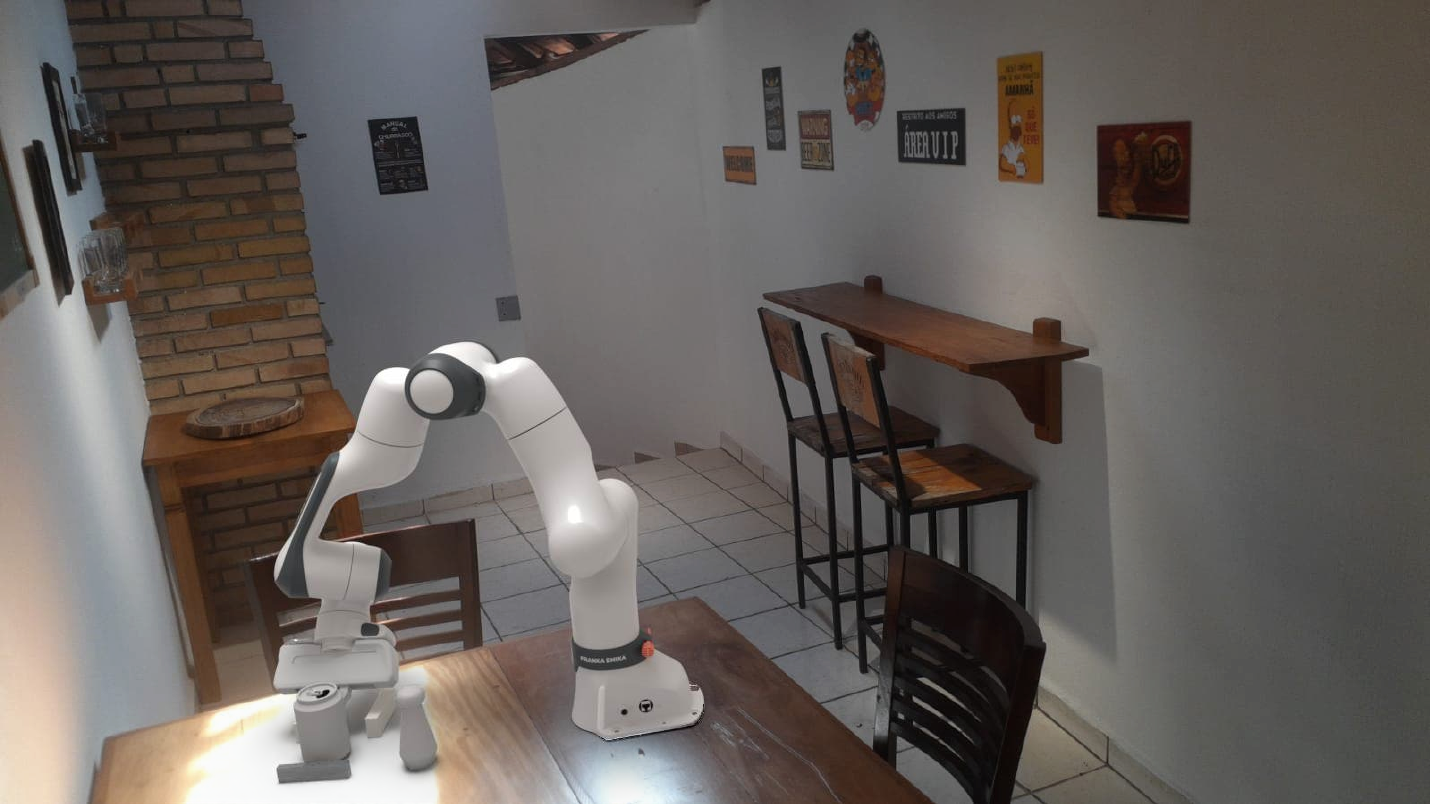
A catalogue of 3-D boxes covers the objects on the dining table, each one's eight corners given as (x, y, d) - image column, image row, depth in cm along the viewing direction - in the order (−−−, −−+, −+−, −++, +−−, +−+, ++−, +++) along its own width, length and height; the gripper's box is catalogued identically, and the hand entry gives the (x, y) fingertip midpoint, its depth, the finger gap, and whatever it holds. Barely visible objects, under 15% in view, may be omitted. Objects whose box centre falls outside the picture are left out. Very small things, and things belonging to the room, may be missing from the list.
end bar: (351, 773, 170) (349, 759, 170) (349, 778, 169) (346, 763, 168) (281, 778, 170) (279, 764, 169) (278, 782, 169) (276, 768, 168)
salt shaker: (446, 759, 172) (436, 685, 169) (419, 777, 168) (408, 701, 165) (421, 750, 176) (410, 677, 173) (393, 768, 171) (382, 693, 168)
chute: (396, 707, 190) (393, 689, 189) (379, 737, 180) (377, 718, 180) (316, 712, 190) (313, 694, 189) (296, 743, 180) (293, 724, 180)
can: (338, 770, 171) (327, 702, 168) (294, 769, 172) (282, 701, 170) (359, 745, 178) (349, 678, 176) (317, 744, 180) (306, 678, 177)
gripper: (274, 633, 183) (261, 715, 176) (395, 625, 183) (386, 707, 176) (288, 645, 188) (276, 725, 181) (405, 638, 188) (397, 717, 181)
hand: (331, 716), depth 178 cm, fingers closed, pressing on can
